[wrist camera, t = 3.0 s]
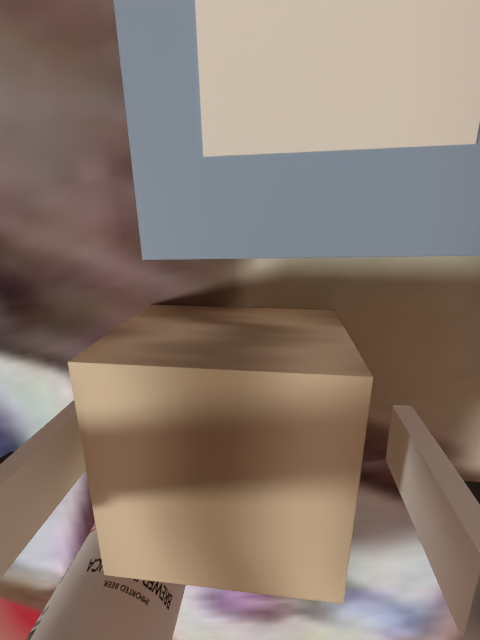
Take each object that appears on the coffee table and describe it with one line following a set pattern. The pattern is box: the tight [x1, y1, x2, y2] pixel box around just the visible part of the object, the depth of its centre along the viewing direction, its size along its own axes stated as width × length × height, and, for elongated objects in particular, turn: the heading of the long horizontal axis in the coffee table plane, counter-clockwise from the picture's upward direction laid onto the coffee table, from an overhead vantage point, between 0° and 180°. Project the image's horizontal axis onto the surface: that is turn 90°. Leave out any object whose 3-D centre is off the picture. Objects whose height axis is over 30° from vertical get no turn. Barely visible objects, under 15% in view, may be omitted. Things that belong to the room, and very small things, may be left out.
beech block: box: [68, 305, 373, 604], centre depth 14 cm, size 9×9×7 cm
